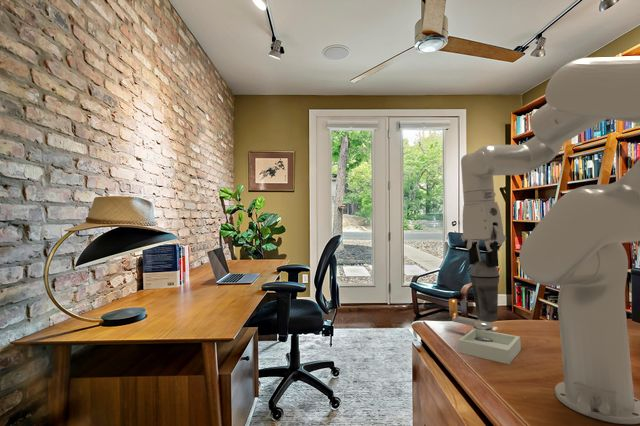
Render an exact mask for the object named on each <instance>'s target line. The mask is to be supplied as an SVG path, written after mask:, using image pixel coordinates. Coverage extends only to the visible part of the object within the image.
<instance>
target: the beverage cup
mask: <svg viewBox="0 0 640 426" xmlns="http://www.w3.org/2000/svg"><path fill="white" fill-rule="evenodd" d="M476 247H477V252H478V257H479V261H478V262H476V263H474V264H473V265H471V267H470V270H469V280H470V282H471V287H472V293H473V298H474V304H475V306H474V307H475V312H476V315H477V320H480V321H484V322H492V323H494V322H497V321H498V306H499V305H498V304H499V302H498V300H499V297H498V296H499V283H500V277H501V276H500V274H499V270H498V267H487V266H486V260H482V257H481V251H479V250H480V247H479V244H476Z"/></svg>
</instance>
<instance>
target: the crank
mask: <svg viewBox="0 0 640 426" xmlns="http://www.w3.org/2000/svg"><path fill="white" fill-rule="evenodd" d="M448 306H449V307H448V309H449V317H451V322H453V323H458V324H462V325H466V326H471V327H473V329H478V330H489V331H491V330H492V329H493V327H494V326H493V322H484V321H480V320H478V319H473V318H468V317H465V316H459V313H458V312H459V311H458V299H457V298H449V299H448Z"/></svg>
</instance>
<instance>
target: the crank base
mask: <svg viewBox="0 0 640 426" xmlns="http://www.w3.org/2000/svg"><path fill="white" fill-rule="evenodd" d="M470 331H471V330H469V331H467V332H466V333H465V335H466V334H467V333H468V332H470ZM485 331H491V330H485ZM491 332H493V331H491ZM475 340H477V341H483V342H493V340H488V339H483V338H478V337H476V338H475Z"/></svg>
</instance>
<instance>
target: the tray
mask: <svg viewBox="0 0 640 426" xmlns="http://www.w3.org/2000/svg"><path fill="white" fill-rule="evenodd" d="M469 331H470V332H468V331H467V332H468V333H467V332H466V333H467V334H466V333H465V334H464V335H463V336H462V337H460V338H459V339H458V349H459V350H458V352H459V354H460V353H461V354H463V355H468V356H471V357H472V356H473V357H476V358H480V359H485V360H488V361H492V362H497V363H501V364H506V365H511V363H512V361H513V360H514V359H515V358H516V357H517V356H518V354H519V353H520V352H521V350H522V345H521V344H522V343H521V336H518V335H513V334H508V333H507V334H506V333H502V332H501V333H500V332H496V331H492V332H491V330H489V331H485V330H478V329H475V328H473V329H471V330H469ZM476 337H478V338H483V339H488V340H493V342H483V341H477V340H475V338H476Z"/></svg>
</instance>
